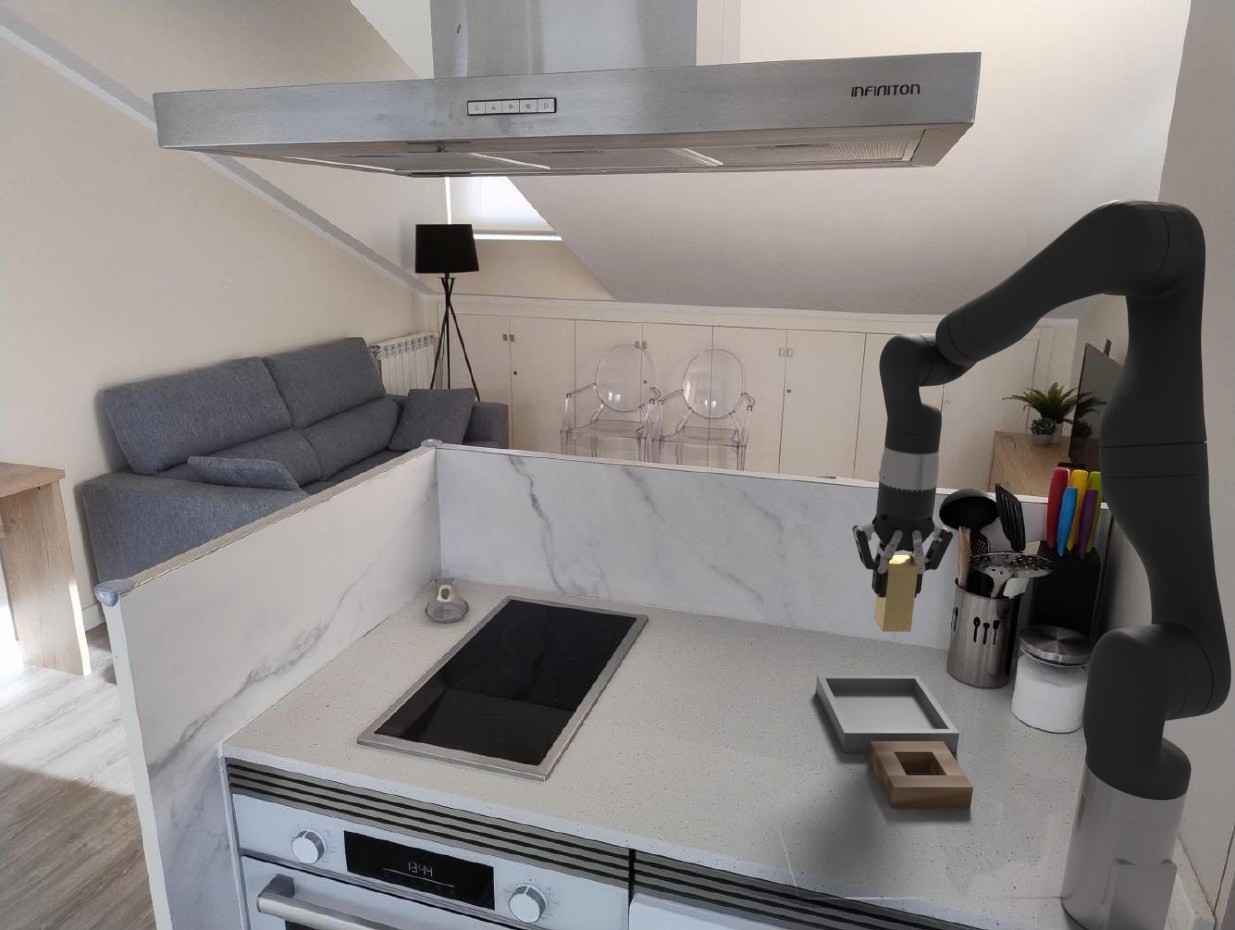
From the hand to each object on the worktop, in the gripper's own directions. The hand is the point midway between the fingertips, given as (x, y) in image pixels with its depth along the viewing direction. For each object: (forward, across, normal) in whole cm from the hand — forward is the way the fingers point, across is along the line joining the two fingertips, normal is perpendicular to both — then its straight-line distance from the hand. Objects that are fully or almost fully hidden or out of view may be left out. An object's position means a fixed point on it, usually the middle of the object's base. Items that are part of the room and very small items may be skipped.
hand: (895, 594), depth 124 cm
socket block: (+20, 0, -15) cm, 25 cm away
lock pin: (+5, 0, 0) cm, 5 cm away
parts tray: (+20, 0, 0) cm, 20 cm away
